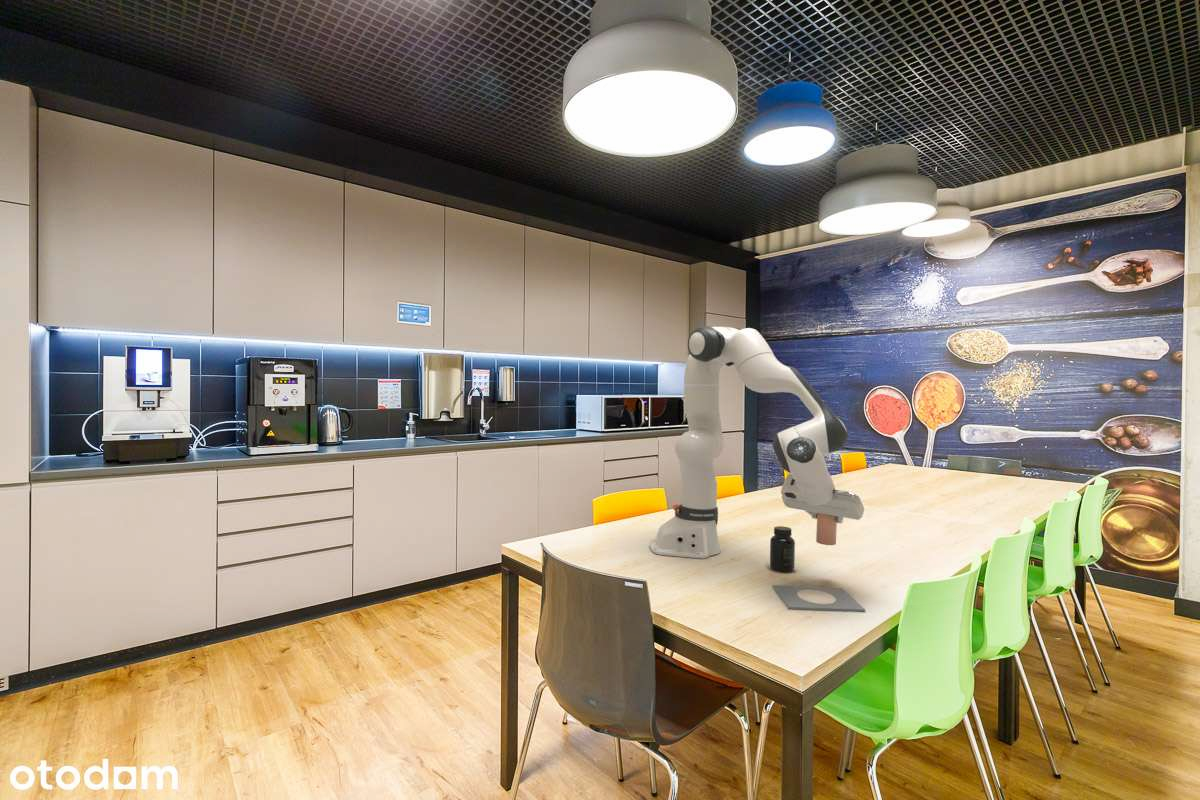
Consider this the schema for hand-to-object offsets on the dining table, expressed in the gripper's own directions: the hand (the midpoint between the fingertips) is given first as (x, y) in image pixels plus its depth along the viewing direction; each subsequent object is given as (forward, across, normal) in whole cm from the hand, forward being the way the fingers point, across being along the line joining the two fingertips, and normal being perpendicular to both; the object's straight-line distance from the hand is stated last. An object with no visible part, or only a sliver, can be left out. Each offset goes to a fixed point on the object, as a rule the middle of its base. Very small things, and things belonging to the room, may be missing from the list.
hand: (827, 518), depth 150 cm
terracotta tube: (+4, 0, +5) cm, 6 cm away
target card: (+2, -3, +23) cm, 23 cm away
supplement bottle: (+13, +13, +12) cm, 21 cm away
